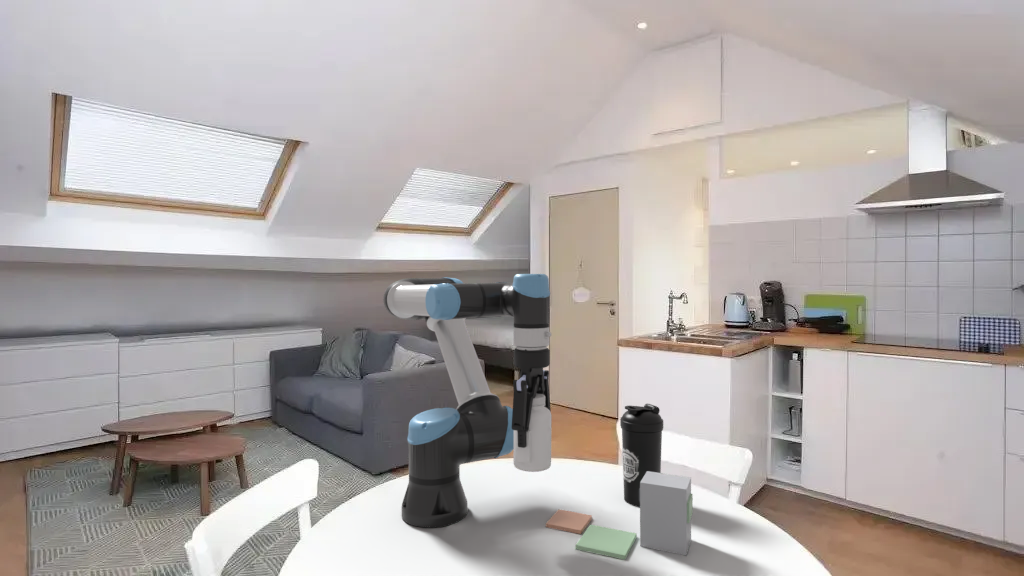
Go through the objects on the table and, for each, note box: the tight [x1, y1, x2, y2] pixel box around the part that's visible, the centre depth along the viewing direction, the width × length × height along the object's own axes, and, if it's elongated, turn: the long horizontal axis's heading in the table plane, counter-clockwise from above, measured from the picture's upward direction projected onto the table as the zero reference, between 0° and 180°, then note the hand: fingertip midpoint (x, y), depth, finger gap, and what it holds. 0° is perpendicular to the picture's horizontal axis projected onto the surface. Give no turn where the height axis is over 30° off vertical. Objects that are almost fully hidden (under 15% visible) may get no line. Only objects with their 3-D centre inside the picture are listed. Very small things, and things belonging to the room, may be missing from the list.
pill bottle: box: [512, 393, 553, 473], centre depth 116 cm, size 8×8×15 cm
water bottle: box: [619, 403, 664, 508], centre depth 134 cm, size 10×10×23 cm
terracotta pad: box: [545, 509, 593, 535], centre depth 122 cm, size 8×8×1 cm
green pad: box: [575, 523, 638, 560], centre depth 113 cm, size 10×10×1 cm
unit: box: [639, 471, 694, 556], centre depth 113 cm, size 10×7×13 cm
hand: (532, 455), depth 116 cm, fingers closed on pill bottle, 8 cm apart
